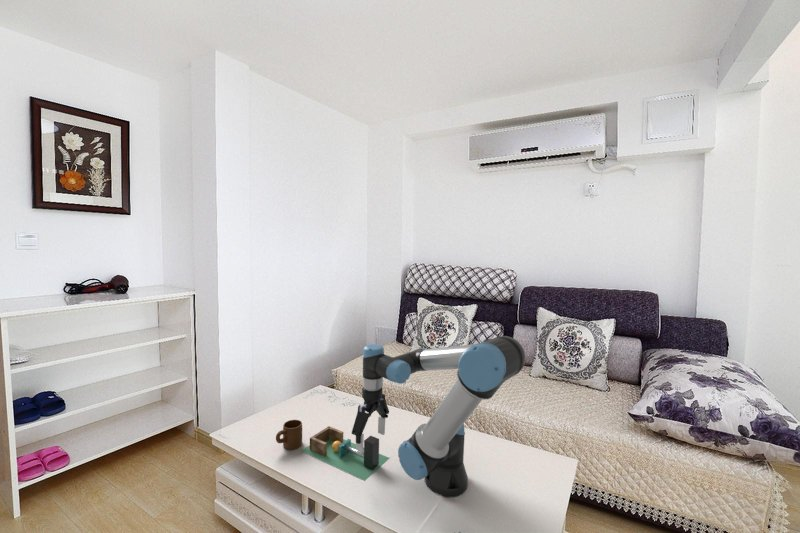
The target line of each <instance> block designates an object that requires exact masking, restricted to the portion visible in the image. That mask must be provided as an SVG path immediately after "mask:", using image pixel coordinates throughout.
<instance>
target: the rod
mask: <svg viewBox="0 0 800 533" xmlns="http://www.w3.org/2000/svg"><path fill="white" fill-rule="evenodd" d="M345 440H346V441H345V442H343V443H342V444H341V445H339V452H338V457H340V458H341V457H343V456H344V455H345V454H347V453H348V452H351V453H353V454H355V455H358V456H360V457H363V458H364V466H365V467H367V468H369V469H371V470H373V469H374V468H375V467H376V466H377V465H378V464H379V454H380V438H379V437H376V436H372V435H369V436H368V437H367V438H365V440H364V442H363V447H364V452H360V451H357V450H356V449H355V448H352V447H351V442H352V440H351V439H350V438H348V439H345Z"/></svg>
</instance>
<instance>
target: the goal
mask: <svg viewBox="0 0 800 533" xmlns="http://www.w3.org/2000/svg"><path fill="white" fill-rule="evenodd" d="M343 439H344V431H343V430H339V429H336V428H335V427H333V426H327V427H325V428H324V429H322V430H320V431H319V432H317V433H315V434H314V435H312V436H310V437H309V445H310V450H311V451H313V452H315V453H318V454H320V455H322V456H324V457H325V456H326V455H327V443H326V441H328V440H331V441H333V442H335V441H340V442H341V443H343Z"/></svg>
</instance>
